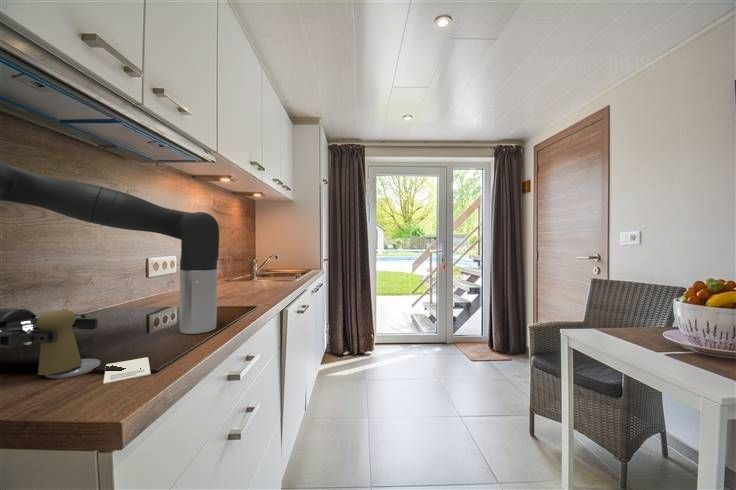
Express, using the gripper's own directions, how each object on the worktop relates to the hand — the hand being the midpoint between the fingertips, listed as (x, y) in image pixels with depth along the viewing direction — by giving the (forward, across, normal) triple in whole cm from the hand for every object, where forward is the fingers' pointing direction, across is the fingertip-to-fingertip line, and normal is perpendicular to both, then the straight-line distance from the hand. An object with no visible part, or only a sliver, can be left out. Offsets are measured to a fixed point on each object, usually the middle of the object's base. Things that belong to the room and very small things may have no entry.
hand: (77, 329), depth 62 cm
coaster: (-1, 0, +8) cm, 8 cm away
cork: (-2, -2, +7) cm, 8 cm away
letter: (+10, 0, +8) cm, 12 cm away
